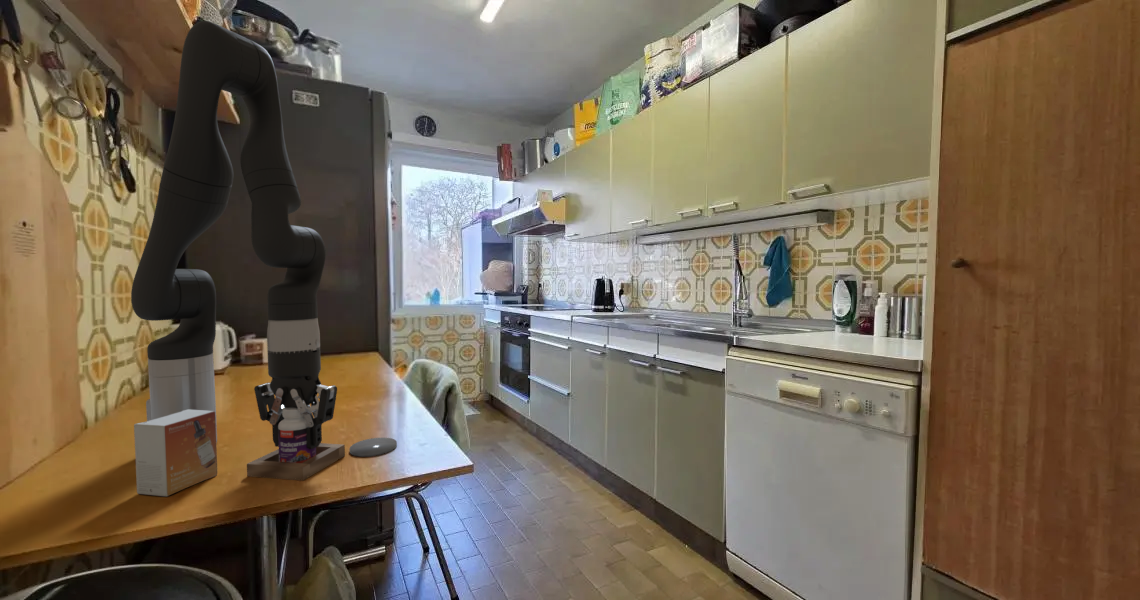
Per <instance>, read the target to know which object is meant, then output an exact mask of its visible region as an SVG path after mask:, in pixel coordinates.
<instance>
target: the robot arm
mask: <svg viewBox="0 0 1140 600" xmlns="http://www.w3.org/2000/svg"><path fill="white" fill-rule="evenodd" d="M221 91H224V92H227V93H230V94H232V95H233V94H234V95H236V96H240V97H241V98H242V100H243V102H244V104H245V106H246V108H247V111H248V115H249V120H250V122H249V123H250V124H249V129H248V132H247V135H246V137H245V140H244V142H243V145H242V147H241V148H242V149H241V153H240V157H239V158H240V160H239V161H240V167H241V174H242V177H243V180H244V184H245V186H246V189H247V194H248V196H249V199H250V202H251V211H250V212H251V215H250V217H251V220H250V222H251V225H250V228H251V231H250V234H251V235H250V236H251V245H252V248H253V251H254V253H255V255H256V257H258V259H259V260H260V261H261V262H262V264H264V265H266V266H267V267H271V268H276V269H286V273H285V276H284V279H283V280H282V281H281V282H279V283H276V284H273V285H271V286H270V287H269V288H268V290H267V319H268V321H267V330H266V345H267V347H266V349H267V373H268V376H269V377H270V378H271V381H270V382H265V383H262V384H259V385H255V386H254V388H253V391H254V394H255V399H256V405H257V409H258V414H259V418H260V420H261V421H263V422H265V421H267V422H269V423H270V425H271V427H272V431H271V432H272V441H273V443H274V447H277V448H279V440H278V425H279V423H280V422H281V421H282V420H283V419H284V417H283V415H282V413H283V407H285V408H288V407H294V408H298V410H299V412H300V414H301V415H303V416H304V418H305V421H306V423H307V426H308V427H307V428H306V436H307V448H308V449H314V448H315V447H317V446H319V444H320V443H322V442H323V441H322V440H323V438H322V437H323V435H322V433H323V431H322V425H323V424H324V423H326V422H329V421H331V420H332V419H333V418H334V413H335V412H334V411H335V406H336V400H337V394H338V387H337V386H336V385H334V384H333V385H330V386H328V385H324V384H322V382H321V380H320V377H319V376H320V372H321V370H322V367H321V366H322V365H321V364H322V362H321V333H320V332H321V331H320V326H319V319H318V318H319V317H318V315H319V313H318V298H317V296H318V295H317V294H318V292H319V291H318V290H319V288H320V284H321V280H322V276H323V270H324V268H325V263H326V257H327V256H326V255H327V253H326V246H325V241H324V240H323V238H322V236H321V234H320V233H319V232H317V231H316V230H315V229H313V228H311V227H307V226H306V227H305V226H301V225H300V226H299V225H293V224H290V220H289V214H293V213H295V212H296V211H298V210H299V209H300V207H301V205H302V200H301V194H300V191H299V189H298V184H297V182H296V178H295V175H294V172H293V169H292V165H291V162H290V159H289V154H288V151H287V146H286V141H285V140H286V139H285V133H284V124H283V116H282V107H281V100H280V92H279V83H278V77H277V71H276V67H275V65H274V62H273V59H272V57H271V55H270V53H269V52H268V50H267V49H266V48H264V47H263V46H262V45H260V44H258V43H257V42H255V41H253V40H252V39H250V38H247V37H245V36H243V35H240V34H238V33H237V32H235V31H232V30H230V29H228V28H226V27H223V26H222V25H219V24H217V23H215V22H211V21H209V20H201V21H198V22H196V23H194V24H193V25H192V26H191V28H190V29H189V30H188V32H187V35H186V37H185V40H184V44H183V47H182V53H181V60H180V69H179V80H178V91H177V98H176V107H175V115H174V121H173V125H172V130H171V131H172V132H171V136H170V141H169V145H168V148H167V149H168V150H167V153H166V156H165V159H164V164H163V168H162V172H161V173H162V174H161V178H160V182H159V186H158V187H159V188H158V194H157V199H156V204H155V208H154V213H153V214H154V215H153V218H152V223H151V226H150V230H149V235H148V237H147V240H146V242H145V246H144V249H143V251H142V255H141V258H140V259H139V263H138V266H137V269H136V272H135V274H134V279H133V280H132V281H133V282H132V286H131V291H130V294H131V295H130V296H131V297H130V299H131V300H130V301H131V302H130V303H131V307H132V310H133V312H134V314H135V315H136V316H137V317H138V318H140V319H142V320H144V321H151V322H152V321H170V320H172V321H173V320H180V322H179V325H178V326H177V328H176V329H174V330H172V332H170V333H169V334H166V335H164V336H163V337H160V338H157V339H155V340H153V341H151V342H150V343H148V345H147V366H148V367H147V368H148V369H147V370H148V385H149V386H148V387H149V388H148V389H149V398H148V399H147V400H146V402H145V406H146V409H145V410H146V421H150V420H154V419H157V418H161V417H164V416H168V415H171V414H175V413H178V412H182V411H184V410H187V409H190V410H206V411H215V420H216V421H217V406H216V405H217V404H216V386H215V385H216V384H215V383H216V382H215V365H214V343H215V340H216V334H217V333H216V332H217V330H216V329H217V327H216V324H217V323H216V322H217V292H216V291H217V289H216V286H215V282H214V279H213V278H212V276H211V275H210V274H209V272H207V271H205V270H203V269H197V268H195V269H194V268H177V267H178V264H179V262H180V260H181V258H182V256H183V254H184V253H185V252H186V250H187V249H188V247H189V246H190V245H191V244H192V243H193V242H195V240H197V239H198V238H199V237H200V236H201V235H203V234H204V233H205V232H206V231H208V229H210V228H211V226H213V225H214V224H215V223H217V221H218V220H219V219H220V217H222V215H223V214H224V212H225V211H226V208H227V206H228V203H229V198H230V194H231V191H232V187H233V182H234V178H235V177H234V175H235V174H234V167H233V165H232V161H231V158H230V155H229V153H228V150H227V148H226V146H225V144H224V143H225V142H224V141H223V138H222V136H221V133H220V128H219V125H218V124H219V123H218V108H219V107H218V106H219V100H220V96H221V95H220V94H221ZM308 405H310V407H307V406H308ZM217 427H218V425H217V424H216V444H217V443H218V430H217V429H218V428H217Z"/></svg>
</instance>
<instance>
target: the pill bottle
mask: <svg viewBox="0 0 1140 600" xmlns="http://www.w3.org/2000/svg"><path fill="white" fill-rule="evenodd" d="M307 407H311V404H309V405H308V406H307ZM282 415H283V417H284V419H283V420H282V421H281V422H280V423H279V425H278V440H279V447H278V449H279V462H288V463H303V462H305V461H307V460H308V459H310V458H312V457H314V456H316V447H315V448H314V449H308V448H307V436H306V428H307V427H308V426H307V423H306V421H305V418H304V416H303V415H301V414H300V412H299V410H298V408H294V407H288V408H285V407H283V413H282Z"/></svg>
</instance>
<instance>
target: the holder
mask: <svg viewBox="0 0 1140 600" xmlns="http://www.w3.org/2000/svg"><path fill="white" fill-rule="evenodd" d="M345 447H346V446H345V444H344V443H343V444H342V443H341V444H340V443H339V444H338V443H323V442H321V443H320V444H319V446H317V447H316V456H314V457H312V458H310V459H308V460H307V461H305V462H303V463H288V462H279V448H278V449H276V450H274V451H271V452H269V453H266V454H265V455H263V456H260V457H258V458H256V459H254V460H252V461H250V462H248V463H246V474H247V475H246V476H247V477H252V478H267V479H277V480H278V479H279V480H293V481H294V480H295V481H304V480H306V479H308V478H310V477H311V476H313V475H314V474H316V473H318V472H321V470H323V469H325V468H326V467H329V466H330V465H331V464H334V463H335V462H336V461H338V459H339V460H340V459H341V458H343V457H345V456H346V452H345Z"/></svg>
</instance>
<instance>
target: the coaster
mask: <svg viewBox="0 0 1140 600" xmlns="http://www.w3.org/2000/svg"><path fill="white" fill-rule="evenodd" d="M397 446H398V442H397V440H396V439H394V438H391V437H374V438H373V437H372V438H367V439H362V440H360V441H357V442H355V443H353V444H351V446H349V454H350V455H351V456H353V457H354V456H355V457H360V458H365V457H375V456H376V455H377V456H381V455H385V454H388V453H391V452H392V451H393V449H394V450H395V449H396V448H397ZM387 452H388V453H387ZM384 453H385V454H384Z"/></svg>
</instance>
